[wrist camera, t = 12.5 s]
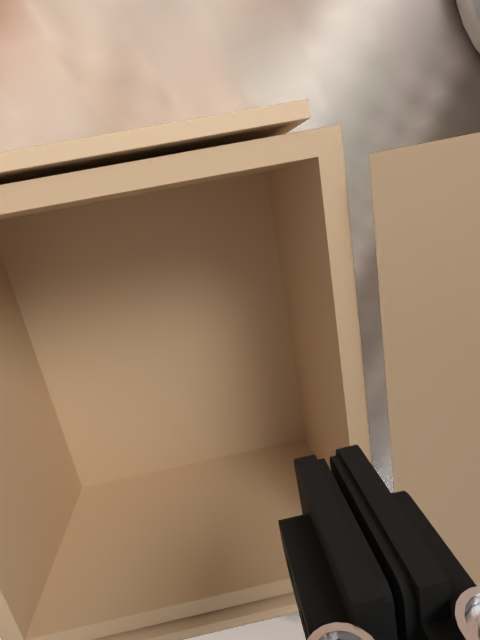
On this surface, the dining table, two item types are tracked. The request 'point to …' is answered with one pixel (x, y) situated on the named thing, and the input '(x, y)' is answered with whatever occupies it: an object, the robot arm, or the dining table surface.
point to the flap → (433, 329)
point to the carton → (169, 370)
